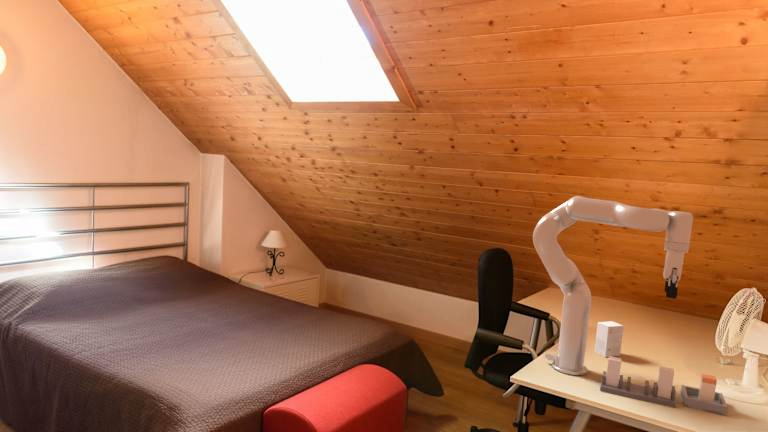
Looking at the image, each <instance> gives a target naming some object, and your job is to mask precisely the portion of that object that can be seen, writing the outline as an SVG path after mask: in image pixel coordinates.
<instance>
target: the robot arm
mask: <svg viewBox="0 0 768 432" xmlns="http://www.w3.org/2000/svg"><path fill="white" fill-rule="evenodd" d="M693 216H694V215H693V214H692V213H690V212H688V211H687V212H686V211H677V210H672V211H671V210H665V209H661V208H654V207H653V208H646V207H639V206H633V205H629V204H625V203H621V202H618V201H614V200H605V199H598V198H591V197H585V196H580V195H575V196H573V197H571V198H570V199H568V200H567V201H566V202H564V203H562V204H560V205H558V207H556V208H554V209H553V210H551V211H549V212H547V213H546V214H545V215H543V216H542V217H541V219H539V221H538V222H537V224H536V225H535V227H534V229H533V234H532V242H533V246H534V248H535V250H536V253H537V254H538V257H539V258H540V260H541V262H542V264H543V266H544V267H545V270H546V272H547V273H548V275H549V277H550V279H551V281H552V282H553V283H554V284H555V285H556V286H557V285H558V287H559V288H560V290H561V292H562V294H563V302H562V309H561V310H562V311H561V321H560V322H561V323H560V330H559V339H558V348H557V352H556V353H553V354H552V353H548V352H545V355H544V358H545V359H547V360H548V361H552V364H551V367H552V368H553V369H554V370H556V371H558V372H560V373H562V374H566V375H572V376H583V375H587V373H588V368H587V367H586V366H585V364H584V363H585V355H586V349H587V348H586V346H587V340H588V339H587V338H588V330H589V320H590V314H591V313H590V312H591V308H592V292H591V290H590V287H589V286H588V284H587V282H586V280H585V279H584V277H583V275H582V274H581V272H580V270H579V269H578V267H577V266H576V263H575V262H574V261H572V260H571V259H570V258H568V257H567V256H566V254H565V253H564V251H563V248H562V247H561V245H560V244H559V242H558V238H557V237H558V235H559V234H561V232H562V231H564V230H565V229H567V228H569V227H570V226H572V225H574V224H575V223H577V221H583V222H591V223H597V224H604V225H608V226H609V225H610V226H614V227H615V226H616V227H623V228H629V229H636V230H641V231H642V230H643V231H649V232H654V233H656V232H657V233H658V232H662V231H665V238H664V240H665V241H664V246H663V250H664V251H666V254H665V259H664V265H663V266H664V267H663V273H662V277H663V279H664V280H665V283H664V291H663V292H664V293H665V297H666V298H667V299H675V300H676V299H677V297H678V289H679V287H678V283H679V281H680V280H681V277H682V271H683V265H684V258H685V254H688V253H689V249H690V242H691V235H692V228H693V221H694V217H693Z"/></svg>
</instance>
